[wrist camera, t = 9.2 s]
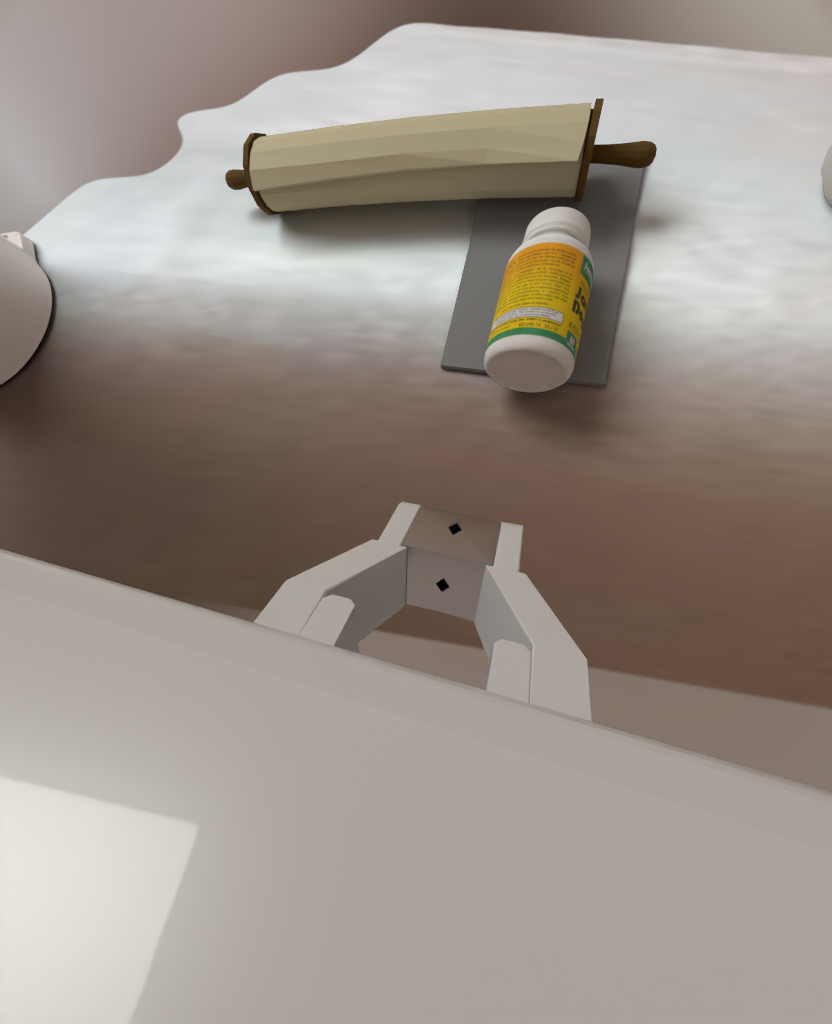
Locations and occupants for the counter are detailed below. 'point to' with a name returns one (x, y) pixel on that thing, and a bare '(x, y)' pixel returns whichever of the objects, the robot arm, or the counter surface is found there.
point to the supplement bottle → (542, 304)
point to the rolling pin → (433, 159)
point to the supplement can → (827, 176)
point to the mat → (503, 234)
